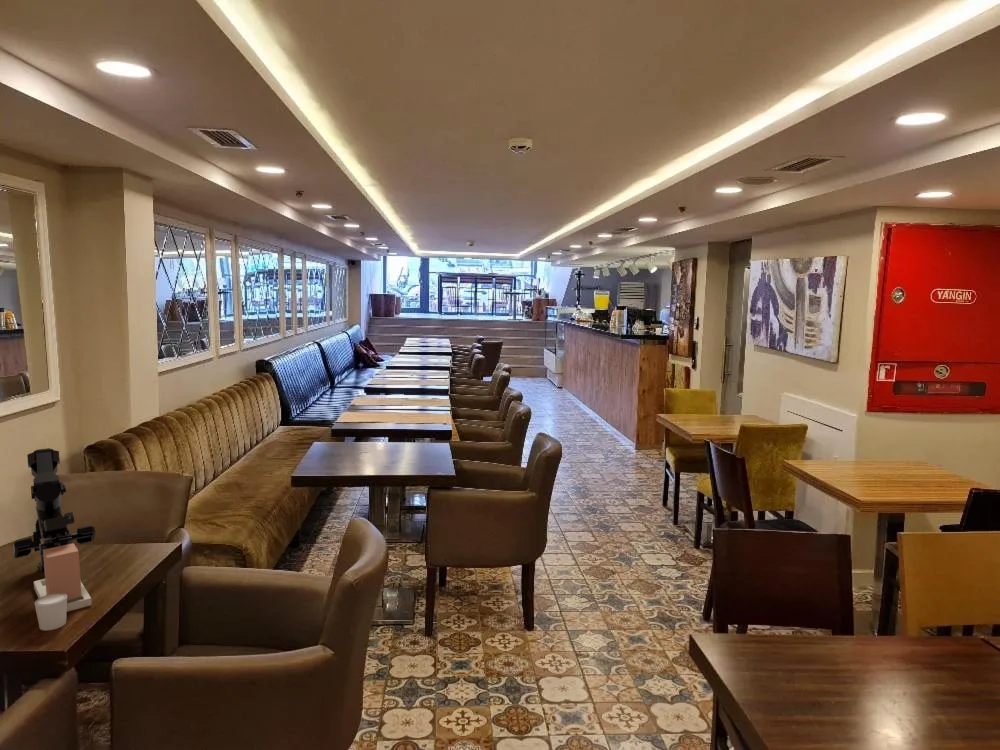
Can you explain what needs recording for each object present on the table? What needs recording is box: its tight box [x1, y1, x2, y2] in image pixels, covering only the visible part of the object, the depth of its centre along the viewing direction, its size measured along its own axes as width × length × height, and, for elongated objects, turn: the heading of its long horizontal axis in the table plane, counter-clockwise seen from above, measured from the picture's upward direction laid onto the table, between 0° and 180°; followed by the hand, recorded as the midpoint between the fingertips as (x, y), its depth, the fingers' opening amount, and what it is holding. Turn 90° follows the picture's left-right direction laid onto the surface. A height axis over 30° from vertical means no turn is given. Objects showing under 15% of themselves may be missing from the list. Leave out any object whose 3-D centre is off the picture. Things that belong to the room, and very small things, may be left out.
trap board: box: [33, 578, 93, 612], centre depth 179 cm, size 22×10×2 cm, turn 43°
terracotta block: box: [43, 542, 82, 600], centre depth 174 cm, size 7×7×13 cm
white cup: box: [34, 593, 67, 631], centre depth 163 cm, size 7×7×7 cm
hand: (60, 568), depth 177 cm, fingers closed
